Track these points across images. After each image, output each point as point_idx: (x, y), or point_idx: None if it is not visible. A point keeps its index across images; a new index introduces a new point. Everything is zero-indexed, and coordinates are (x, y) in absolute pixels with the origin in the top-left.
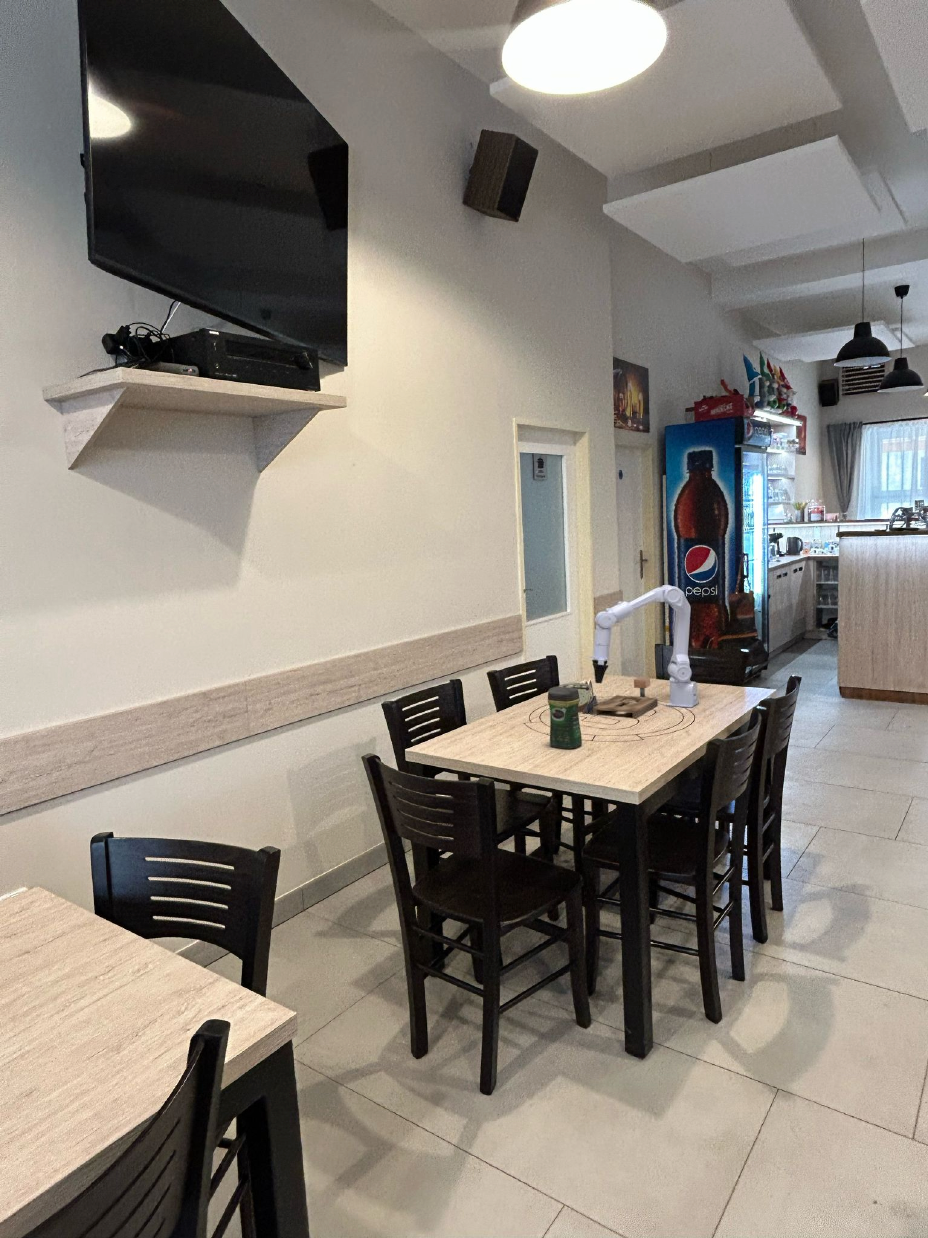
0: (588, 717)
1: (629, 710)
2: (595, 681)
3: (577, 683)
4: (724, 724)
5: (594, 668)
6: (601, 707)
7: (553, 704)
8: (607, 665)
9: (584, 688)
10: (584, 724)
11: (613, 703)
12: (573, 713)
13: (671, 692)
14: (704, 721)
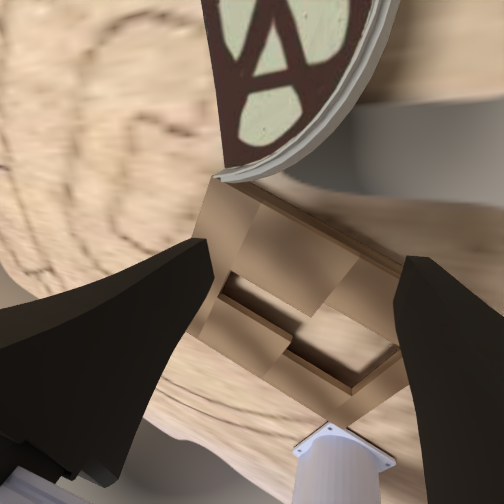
0: (187, 145)
1: None
2: (185, 241)
3: (374, 5)
4: (154, 423)
5: (8, 312)
6: (204, 214)
7: None
8: (81, 476)
9: (221, 124)
10: (92, 130)
11: (278, 275)
12: None
13: (329, 481)
14: (170, 410)
